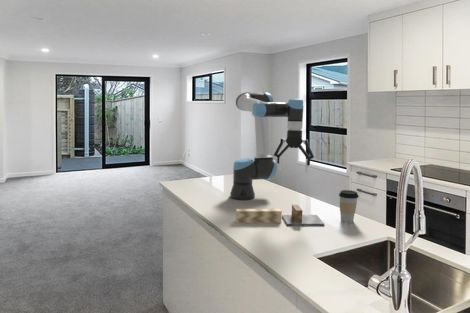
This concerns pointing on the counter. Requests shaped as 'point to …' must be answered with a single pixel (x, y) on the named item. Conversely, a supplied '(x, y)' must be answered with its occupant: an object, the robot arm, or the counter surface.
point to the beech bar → (258, 215)
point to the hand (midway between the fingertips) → (293, 170)
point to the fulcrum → (301, 218)
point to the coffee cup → (348, 205)
